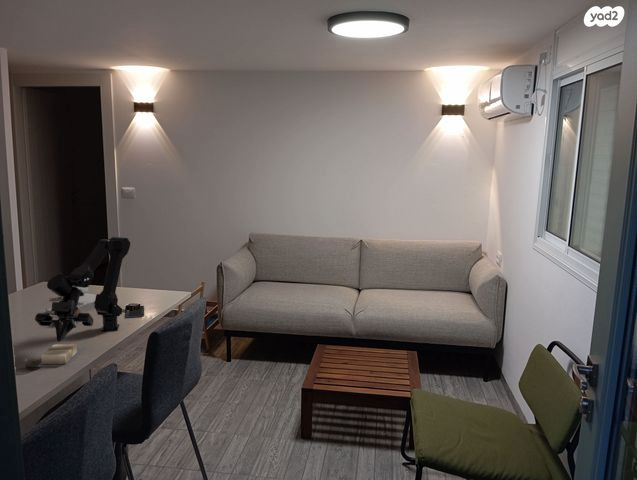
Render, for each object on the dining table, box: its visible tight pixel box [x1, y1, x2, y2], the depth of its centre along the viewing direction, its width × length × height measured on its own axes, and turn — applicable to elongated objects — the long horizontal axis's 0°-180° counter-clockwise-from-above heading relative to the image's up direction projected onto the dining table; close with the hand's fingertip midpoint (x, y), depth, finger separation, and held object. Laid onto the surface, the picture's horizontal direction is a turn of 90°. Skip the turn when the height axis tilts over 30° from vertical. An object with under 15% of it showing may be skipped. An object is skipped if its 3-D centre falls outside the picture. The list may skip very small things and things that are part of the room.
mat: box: [35, 347, 87, 368], centre depth 180 cm, size 16×11×1 cm
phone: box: [125, 305, 145, 319], centre depth 230 cm, size 8×1×15 cm
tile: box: [41, 343, 78, 364], centre depth 178 cm, size 3×8×10 cm
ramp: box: [45, 292, 97, 315], centre depth 233 cm, size 28×16×5 cm, turn 120°
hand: (58, 341), depth 177 cm, fingers closed
